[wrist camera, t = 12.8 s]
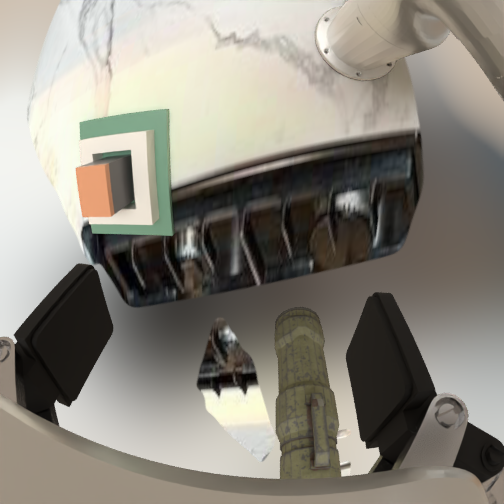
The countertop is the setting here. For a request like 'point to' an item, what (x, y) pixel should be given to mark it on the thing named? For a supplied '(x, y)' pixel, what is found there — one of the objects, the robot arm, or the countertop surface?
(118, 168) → the plug
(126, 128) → the board
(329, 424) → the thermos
